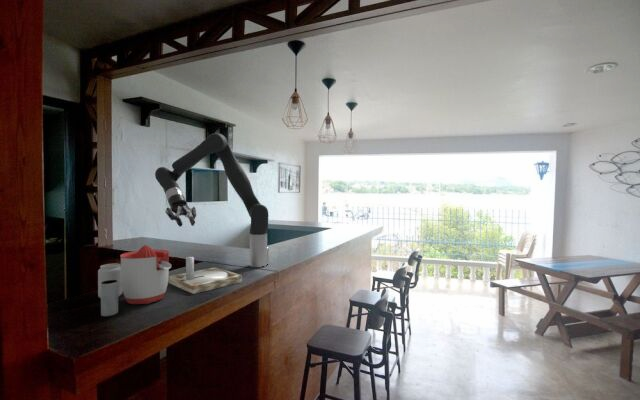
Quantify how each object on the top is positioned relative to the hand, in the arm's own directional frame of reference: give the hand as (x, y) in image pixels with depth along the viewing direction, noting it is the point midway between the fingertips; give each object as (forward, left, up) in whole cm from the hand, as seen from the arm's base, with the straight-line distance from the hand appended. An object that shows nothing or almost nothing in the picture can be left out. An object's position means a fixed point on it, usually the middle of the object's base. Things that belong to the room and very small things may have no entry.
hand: (187, 224), depth 142 cm
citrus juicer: (+24, +20, -24) cm, 40 cm away
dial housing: (-1, +15, -24) cm, 29 cm away
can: (+32, +6, -24) cm, 41 cm away
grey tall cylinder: (+37, +25, -24) cm, 51 cm away
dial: (-1, +15, -23) cm, 27 cm away
